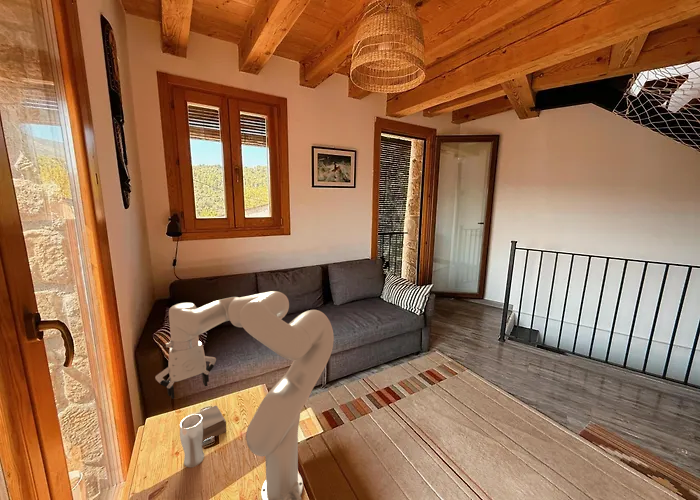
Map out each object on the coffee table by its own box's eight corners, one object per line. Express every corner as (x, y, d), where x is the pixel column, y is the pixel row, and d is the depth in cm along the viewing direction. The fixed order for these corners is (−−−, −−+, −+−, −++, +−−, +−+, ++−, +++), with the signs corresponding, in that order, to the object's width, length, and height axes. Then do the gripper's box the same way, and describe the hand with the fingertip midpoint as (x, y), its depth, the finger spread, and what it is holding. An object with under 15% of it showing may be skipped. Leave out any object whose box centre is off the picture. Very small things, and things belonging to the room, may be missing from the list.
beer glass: (180, 458, 98) (176, 420, 95) (202, 447, 102) (199, 410, 100) (185, 473, 93) (181, 432, 90) (208, 460, 97) (205, 421, 95)
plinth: (226, 431, 110) (225, 419, 109) (195, 446, 103) (194, 434, 102) (217, 415, 118) (216, 404, 117) (187, 428, 111) (186, 417, 110)
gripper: (154, 355, 82) (159, 408, 85) (217, 338, 93) (220, 385, 96) (151, 345, 88) (156, 395, 91) (211, 330, 99) (213, 375, 102)
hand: (189, 390), depth 93 cm, fingers open, 9 cm apart
